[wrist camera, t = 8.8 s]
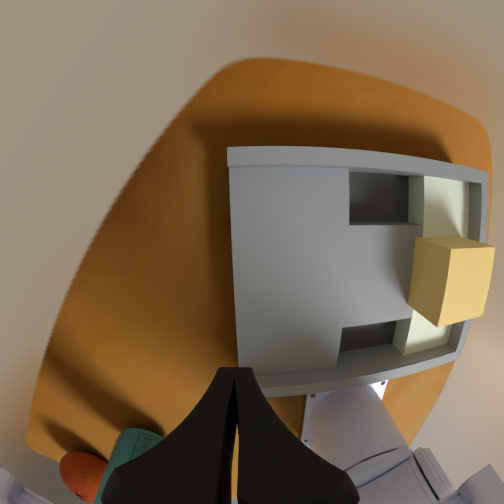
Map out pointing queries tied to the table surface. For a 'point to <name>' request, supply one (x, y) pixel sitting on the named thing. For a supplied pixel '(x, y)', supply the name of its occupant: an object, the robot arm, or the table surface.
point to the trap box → (341, 262)
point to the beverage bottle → (127, 452)
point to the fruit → (82, 474)
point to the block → (450, 278)
